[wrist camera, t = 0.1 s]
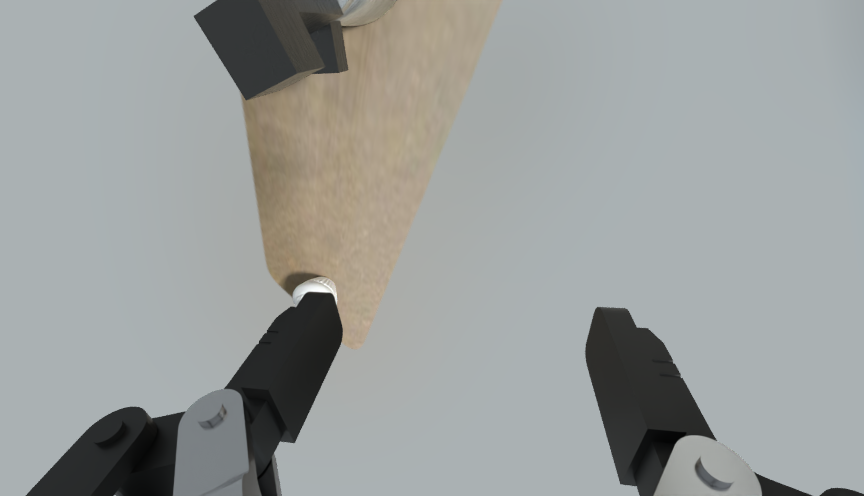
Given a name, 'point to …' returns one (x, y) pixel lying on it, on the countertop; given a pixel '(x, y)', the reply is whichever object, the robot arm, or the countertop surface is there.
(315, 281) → the muffin
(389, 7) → the cooker pot
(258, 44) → the cooker lid
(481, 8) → the countertop surface
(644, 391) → the robot arm
